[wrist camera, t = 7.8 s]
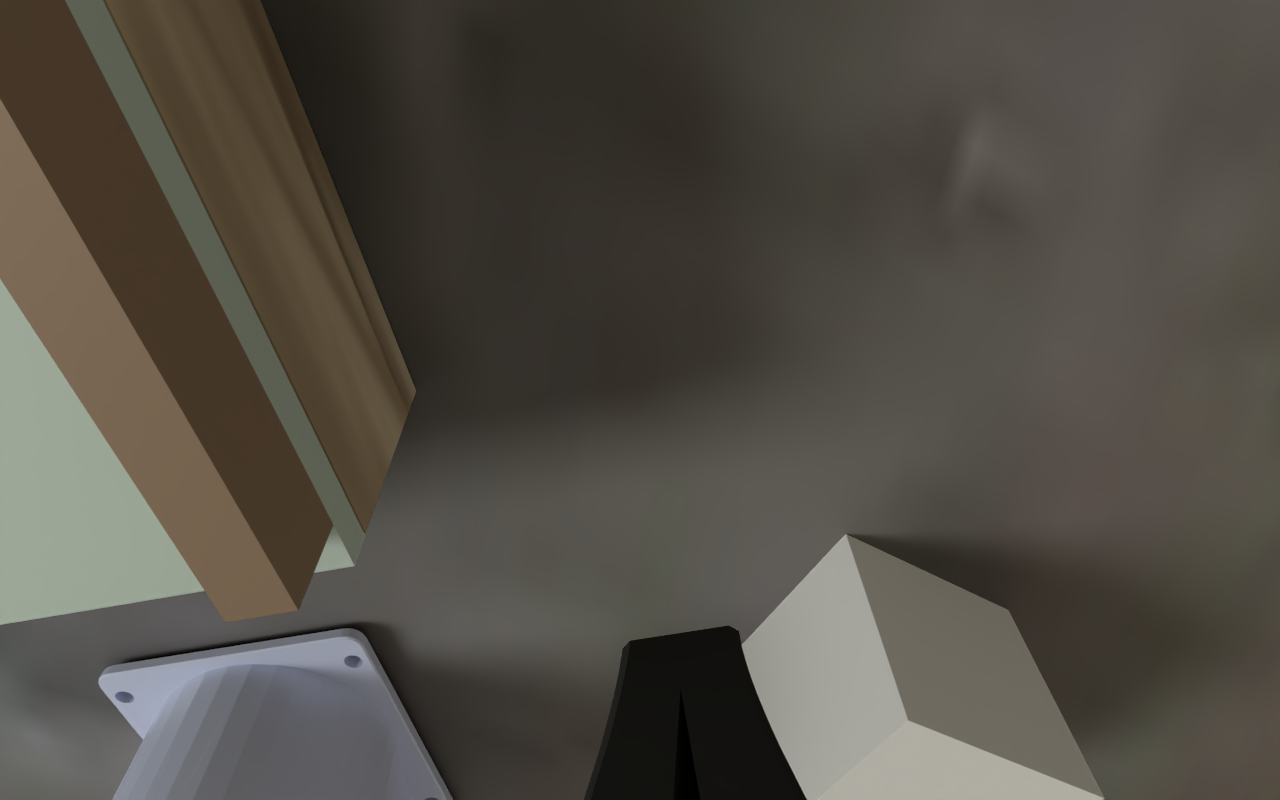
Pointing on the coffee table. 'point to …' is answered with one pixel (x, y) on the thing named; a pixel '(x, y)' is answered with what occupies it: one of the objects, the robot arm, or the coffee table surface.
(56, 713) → the coffee table surface
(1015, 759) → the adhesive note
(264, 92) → the storage box
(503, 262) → the coffee table surface
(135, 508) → the lid
